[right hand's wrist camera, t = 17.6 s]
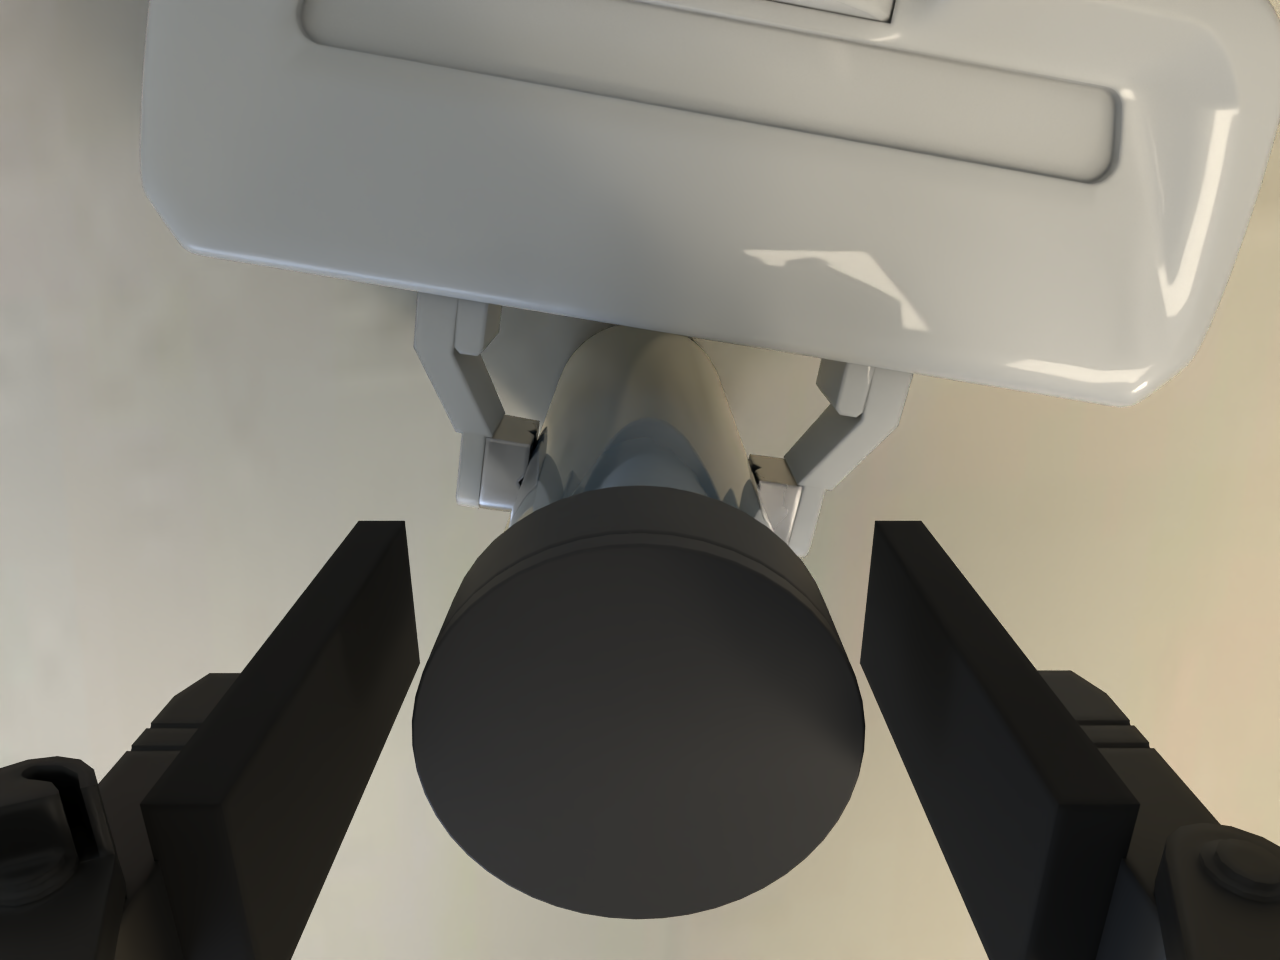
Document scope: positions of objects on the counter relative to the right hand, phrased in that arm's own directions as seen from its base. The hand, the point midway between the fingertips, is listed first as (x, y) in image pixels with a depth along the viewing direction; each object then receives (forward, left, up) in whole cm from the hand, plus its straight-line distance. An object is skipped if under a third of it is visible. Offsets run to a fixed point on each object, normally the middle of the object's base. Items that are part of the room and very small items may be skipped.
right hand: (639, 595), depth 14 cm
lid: (0, 0, +4) cm, 4 cm away
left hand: (-1, +1, -5) cm, 5 cm away
